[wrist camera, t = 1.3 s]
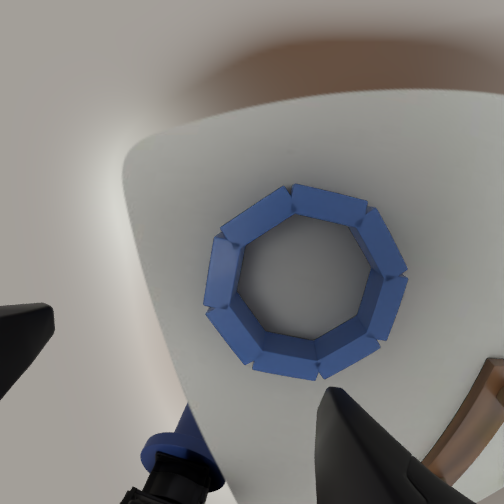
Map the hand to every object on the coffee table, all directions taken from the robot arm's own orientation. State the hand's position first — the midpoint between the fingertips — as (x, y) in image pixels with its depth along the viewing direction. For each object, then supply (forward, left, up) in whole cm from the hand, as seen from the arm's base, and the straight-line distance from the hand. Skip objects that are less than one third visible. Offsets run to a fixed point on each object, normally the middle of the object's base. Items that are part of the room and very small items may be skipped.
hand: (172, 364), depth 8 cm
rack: (+28, -14, -12) cm, 33 cm away
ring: (+5, 0, -12) cm, 13 cm away
